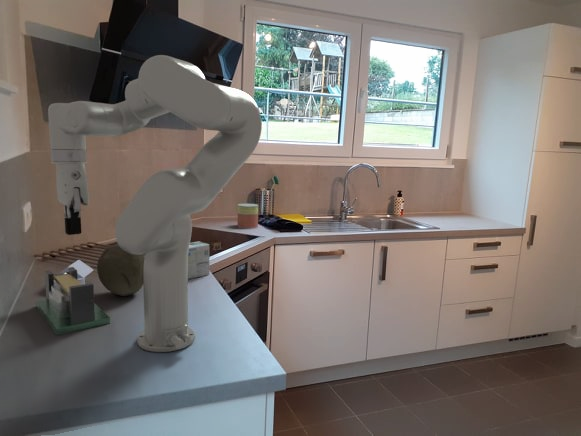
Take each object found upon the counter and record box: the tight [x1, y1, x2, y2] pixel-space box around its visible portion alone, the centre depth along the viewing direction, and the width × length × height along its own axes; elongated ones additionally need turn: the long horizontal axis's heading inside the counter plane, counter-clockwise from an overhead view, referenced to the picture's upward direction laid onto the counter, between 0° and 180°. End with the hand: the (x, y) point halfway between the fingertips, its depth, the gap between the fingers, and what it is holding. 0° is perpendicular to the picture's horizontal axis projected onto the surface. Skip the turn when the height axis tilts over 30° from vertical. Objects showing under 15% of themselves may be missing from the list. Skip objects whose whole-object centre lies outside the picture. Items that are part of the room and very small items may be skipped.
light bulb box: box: [188, 240, 210, 280], centre depth 151 cm, size 11×7×11 cm, turn 134°
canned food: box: [236, 203, 259, 230], centre depth 243 cm, size 11×11×12 cm
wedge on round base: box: [54, 259, 94, 290], centre depth 136 cm, size 9×7×13 cm
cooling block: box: [35, 267, 111, 336], centre depth 114 cm, size 22×12×10 cm, turn 40°
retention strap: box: [53, 272, 82, 296], centre depth 114 cm, size 19×4×2 cm, turn 40°
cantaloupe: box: [96, 243, 145, 297], centre depth 130 cm, size 14×14×15 cm
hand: (73, 233), depth 108 cm, fingers closed
